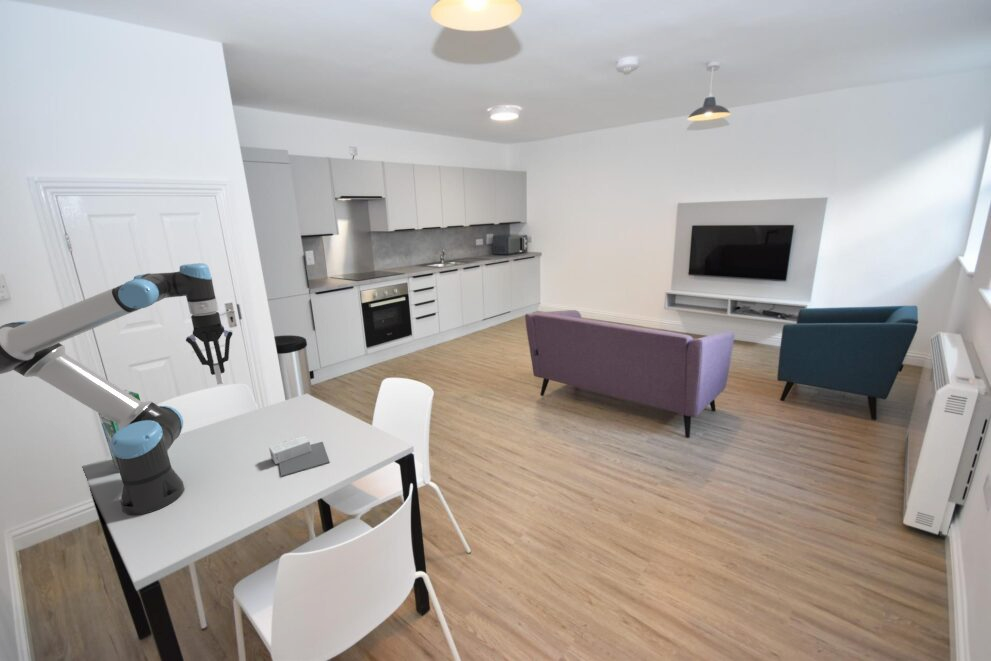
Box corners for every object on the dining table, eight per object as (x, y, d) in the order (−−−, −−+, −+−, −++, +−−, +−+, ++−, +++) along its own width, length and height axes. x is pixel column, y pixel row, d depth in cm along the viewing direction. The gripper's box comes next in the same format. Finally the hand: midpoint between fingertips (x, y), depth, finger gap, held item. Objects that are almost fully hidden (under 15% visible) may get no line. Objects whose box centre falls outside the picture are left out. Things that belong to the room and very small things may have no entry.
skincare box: (275, 464, 146) (311, 451, 154) (273, 453, 145) (309, 441, 153) (270, 457, 151) (306, 445, 158) (268, 446, 150) (304, 434, 157)
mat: (281, 477, 140) (281, 475, 140) (278, 454, 154) (277, 453, 154) (329, 463, 147) (329, 461, 147) (322, 442, 161) (322, 441, 161)
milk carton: (113, 464, 152) (93, 399, 145) (143, 452, 159) (125, 389, 153) (126, 470, 148) (106, 403, 141) (156, 457, 155) (138, 393, 149)
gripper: (178, 318, 130) (195, 391, 137) (228, 312, 136) (242, 382, 143) (181, 314, 137) (197, 383, 143) (229, 308, 143) (242, 375, 149)
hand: (220, 382), depth 143 cm, fingers closed
